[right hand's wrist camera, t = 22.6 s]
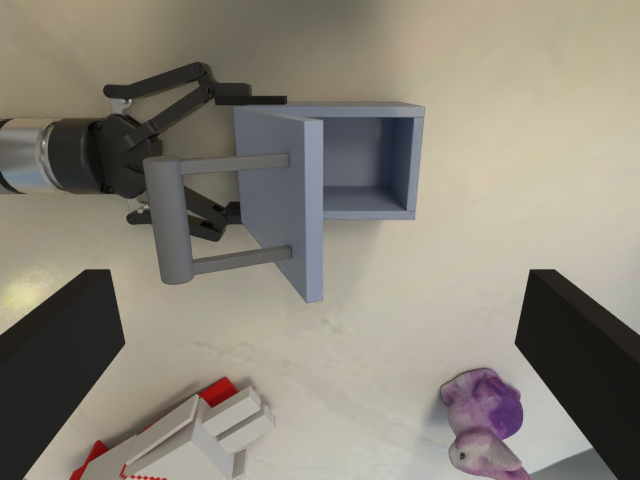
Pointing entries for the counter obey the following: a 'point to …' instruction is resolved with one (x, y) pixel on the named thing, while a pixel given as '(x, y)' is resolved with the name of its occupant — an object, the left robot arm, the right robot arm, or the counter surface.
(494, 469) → the figurine
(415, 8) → the counter surface
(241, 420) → the toy
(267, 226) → the lid
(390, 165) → the chest
